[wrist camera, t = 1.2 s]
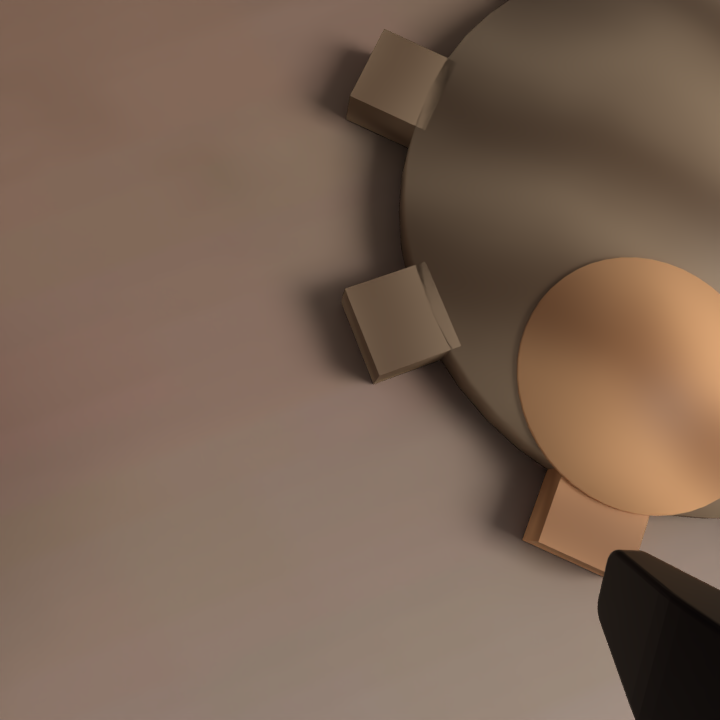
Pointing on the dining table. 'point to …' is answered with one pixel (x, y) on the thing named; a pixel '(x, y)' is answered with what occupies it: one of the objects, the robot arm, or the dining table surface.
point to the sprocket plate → (564, 250)
